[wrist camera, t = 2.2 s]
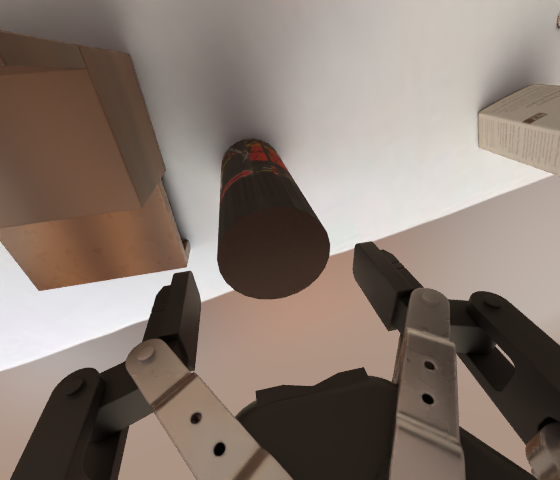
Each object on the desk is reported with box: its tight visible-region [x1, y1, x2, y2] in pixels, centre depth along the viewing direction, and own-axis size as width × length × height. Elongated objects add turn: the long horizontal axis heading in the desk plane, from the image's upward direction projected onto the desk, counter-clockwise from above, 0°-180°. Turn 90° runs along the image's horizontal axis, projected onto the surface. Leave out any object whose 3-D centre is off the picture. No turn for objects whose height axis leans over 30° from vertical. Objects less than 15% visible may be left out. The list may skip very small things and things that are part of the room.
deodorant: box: [217, 139, 330, 299], centre depth 20 cm, size 6×6×15 cm
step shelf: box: [0, 30, 190, 291], centre depth 18 cm, size 14×18×14 cm
